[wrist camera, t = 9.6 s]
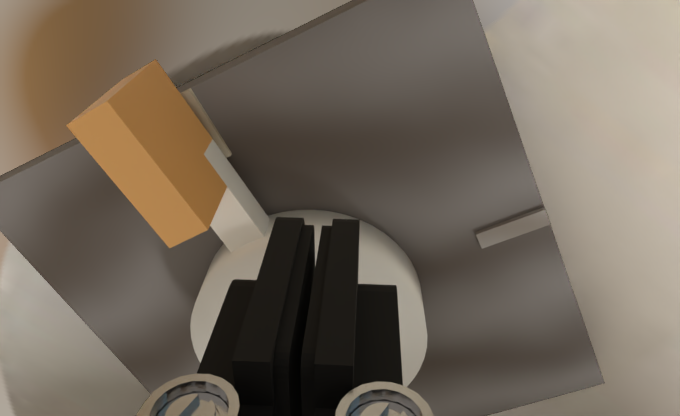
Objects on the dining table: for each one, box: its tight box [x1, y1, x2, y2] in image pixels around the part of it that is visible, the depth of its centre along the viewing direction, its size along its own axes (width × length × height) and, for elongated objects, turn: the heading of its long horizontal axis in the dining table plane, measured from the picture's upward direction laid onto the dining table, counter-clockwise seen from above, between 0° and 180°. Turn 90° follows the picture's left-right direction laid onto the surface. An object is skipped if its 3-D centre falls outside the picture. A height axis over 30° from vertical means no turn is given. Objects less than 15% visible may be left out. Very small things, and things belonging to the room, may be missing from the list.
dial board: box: [0, 0, 605, 416], centre depth 26 cm, size 22×22×2 cm
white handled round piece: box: [66, 59, 427, 387], centre depth 22 cm, size 18×10×5 cm, turn 29°
